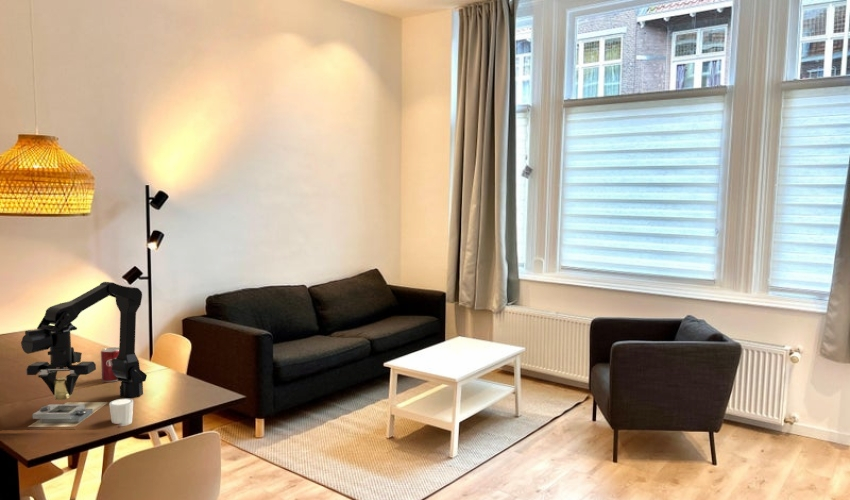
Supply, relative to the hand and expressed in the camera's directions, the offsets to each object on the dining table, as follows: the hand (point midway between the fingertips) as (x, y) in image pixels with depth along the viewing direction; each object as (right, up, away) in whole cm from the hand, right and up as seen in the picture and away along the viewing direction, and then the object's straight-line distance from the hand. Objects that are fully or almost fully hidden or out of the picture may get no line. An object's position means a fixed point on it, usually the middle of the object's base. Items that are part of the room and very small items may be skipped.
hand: (62, 394), depth 194 cm
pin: (0, -1, 0) cm, 1 cm away
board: (0, -8, +5) cm, 10 cm away
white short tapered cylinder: (+19, -9, 0) cm, 21 cm away
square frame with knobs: (0, -9, +1) cm, 9 cm away
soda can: (-7, -5, +44) cm, 45 cm away
